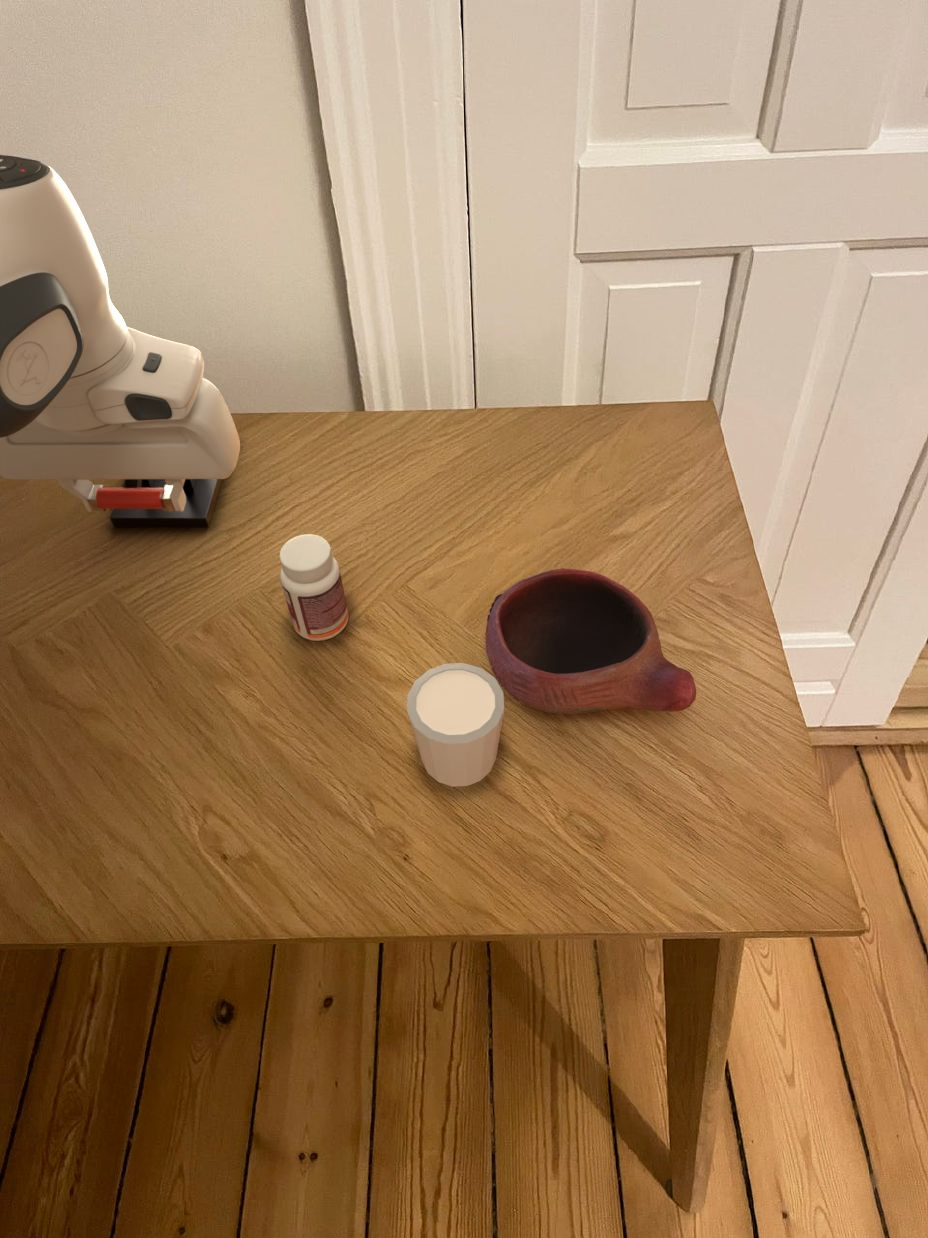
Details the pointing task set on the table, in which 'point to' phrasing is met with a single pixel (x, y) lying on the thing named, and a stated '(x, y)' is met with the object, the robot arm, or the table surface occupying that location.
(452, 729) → the shot glass
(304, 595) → the pill bottle
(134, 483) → the clamp lever
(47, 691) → the table surface
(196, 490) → the clamp
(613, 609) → the bowl
